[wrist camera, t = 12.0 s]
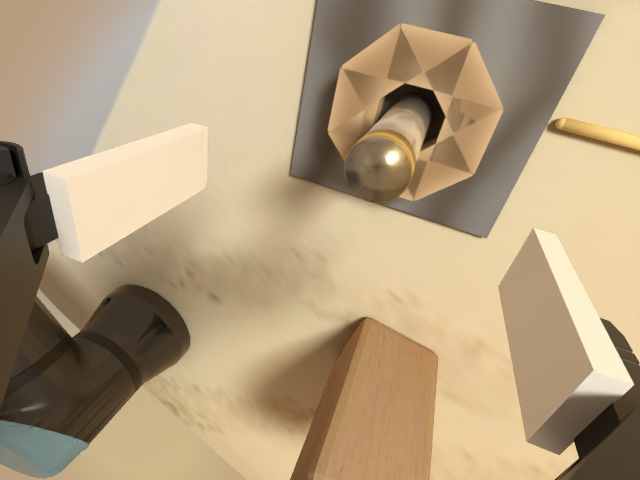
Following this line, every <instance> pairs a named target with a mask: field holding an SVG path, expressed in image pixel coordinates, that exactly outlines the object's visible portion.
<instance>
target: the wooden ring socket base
mask: <svg viewBox="0 0 640 480" xmlns="http://www.w3.org/2000/svg"><path fill="white" fill-rule="evenodd" d="M604 16H605V15H603V14H598V13H594V12H589V11H584V10H579V9H574V8H569V7H564V6H560V5H555V4H550V3H545V2H540V1H535V0H318V1H317V7H316V14H315V20H314V26H313V33H312V39H311V46H310V52H309V58H308V65H307V71H306V77H305V84H304V90H303V97H302V103H301V109H300V116H299V122H298V128H297V135H296V141H295V148H294V154H293V160H292V167H291V173H290V175H293V176H296V177H299V178H302V179H305V180H308V181H311V182H315V183H318V184H321V185H324V186H327V187H330V188H333V189H336V190H339V191H342V192H345V193H348V194H351V195H355V196H357V195H356V194H355V193H354V192H353V191H352V190H351V188H350V187H349V185H348V183H347V181H346V178H345V174H344V163H345V159H346V156H347V154H348V152H349V151H350V149H351V148H352V147H353V146H354V145H355V144H356V143H357V142H358V141H359V140H360V139H361V138H362V137H363V136H364V135H365V134H367V133H368V132H369V131H370V129H371V128H372V127H373V126H374V125H375V124H376V123H377V122H378V121H379V120H380V119H381V118H382V117H383V116H384V115H385V114H386V113H387V112H388V111H389V109H390V108H391V107H392V106H393V105H394V104H395V103H396V102H397V101H398V100H399V99H400V98H401V97H402V96H403V95H405V94H407V93H410V92H420V93H423V94H424V95H426V96H427V97H428V98H429V99H430V101H431V103H432V106H433V115H432V118H431V121H430V124H429V127H428V129H427V132H426V135H425V138H424V141H423V144H422V147H421V149H420V152H419V155H418V158H417V161H416V164H415V169H414V172H413V175H412V178H411V181H410V183H409V186H408V187H407V189H406V190H405V191H404V193H403V194H401V195H400V196H399V197H398V198H396V199H394V200H392V201H389V202H384V203H379V204H382V205H385V206H388V207H391V208H394V209H398V210H401V211H404V212H407V213H410V214H413V215H416V216H419V217H422V218H425V219H428V220H431V221H434V222H438V223H441V224H444V225H447V226H450V227H453V228H456V229H459V230H462V231H465V232H468V233H471V234H474V235H477V236H481V237H484V238H487V236H488V235H489V233H490V231H491V229H492V227H493V225H494V223H495V221H496V220H497V218H498V216H499V214H500V212H501V210H502V208H503V206H504V205H505V203H506V201H507V199H508V197H509V195H510V193H511V191H512V189H513V188H514V186H515V184H516V182H517V180H518V178H519V176H520V174H521V173H522V171H523V169H524V167H525V165H526V163H527V161H528V159H529V157H530V156H531V154H532V152H533V150H534V148H535V146H536V144H537V142H538V141H539V139H540V137H541V135H542V133H543V131H544V129H545V127H546V125H547V124H548V122H549V120H550V118H551V116H552V114H553V112H554V110H555V109H556V107H557V105H558V103H559V101H560V99H561V97H562V95H563V94H564V92H565V90H566V88H567V86H568V84H569V82H570V80H571V78H572V77H573V75H574V73H575V71H576V69H577V67H578V65H579V63H580V62H581V60H582V58H583V56H584V54H585V52H586V50H587V48H588V46H589V45H590V43H591V41H592V39H593V37H594V35H595V33H596V31H597V30H598V28H599V26H600V24H601V22H602V20H603V18H604ZM358 197H359V196H358Z"/></svg>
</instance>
